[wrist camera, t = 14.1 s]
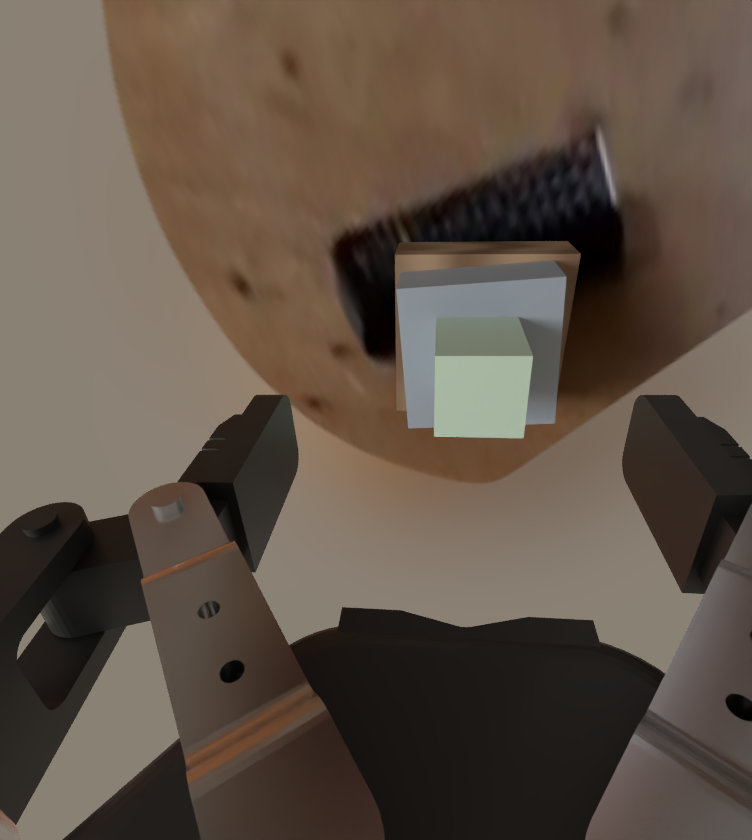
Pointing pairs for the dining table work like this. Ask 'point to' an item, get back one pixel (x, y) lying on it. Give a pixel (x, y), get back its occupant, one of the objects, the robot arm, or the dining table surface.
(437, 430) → the sage block
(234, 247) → the dining table surface
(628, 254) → the dining table surface
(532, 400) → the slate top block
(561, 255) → the walnut base slab
